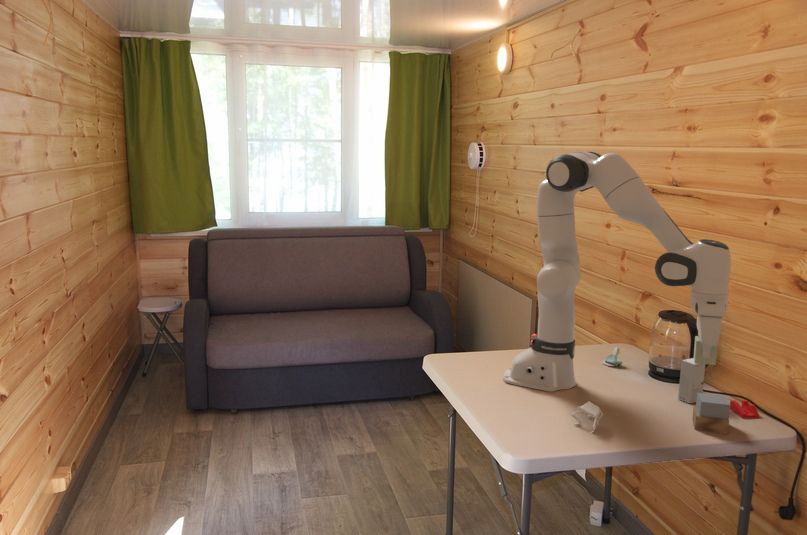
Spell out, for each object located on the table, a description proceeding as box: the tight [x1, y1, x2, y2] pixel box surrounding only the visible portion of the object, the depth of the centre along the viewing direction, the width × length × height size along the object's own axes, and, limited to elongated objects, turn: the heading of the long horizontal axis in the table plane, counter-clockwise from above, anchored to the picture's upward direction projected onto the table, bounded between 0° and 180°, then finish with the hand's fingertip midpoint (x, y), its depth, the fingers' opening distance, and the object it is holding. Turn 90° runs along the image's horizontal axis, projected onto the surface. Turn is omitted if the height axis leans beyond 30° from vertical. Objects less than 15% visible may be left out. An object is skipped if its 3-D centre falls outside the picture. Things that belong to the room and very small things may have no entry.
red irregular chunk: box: [729, 399, 760, 419], centre depth 191 cm, size 6×5×3 cm
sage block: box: [693, 335, 718, 366], centre depth 179 cm, size 5×5×6 cm
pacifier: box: [602, 346, 623, 368], centre depth 231 cm, size 7×6×6 cm
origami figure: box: [569, 400, 604, 434], centre depth 180 cm, size 12×8×5 cm
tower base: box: [692, 405, 730, 435], centre depth 182 cm, size 8×8×4 cm
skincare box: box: [677, 357, 706, 404], centre depth 200 cm, size 6×4×12 cm
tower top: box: [695, 392, 731, 419], centre depth 181 cm, size 7×7×4 cm
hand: (704, 353), depth 179 cm, fingers closed on sage block, 5 cm apart
